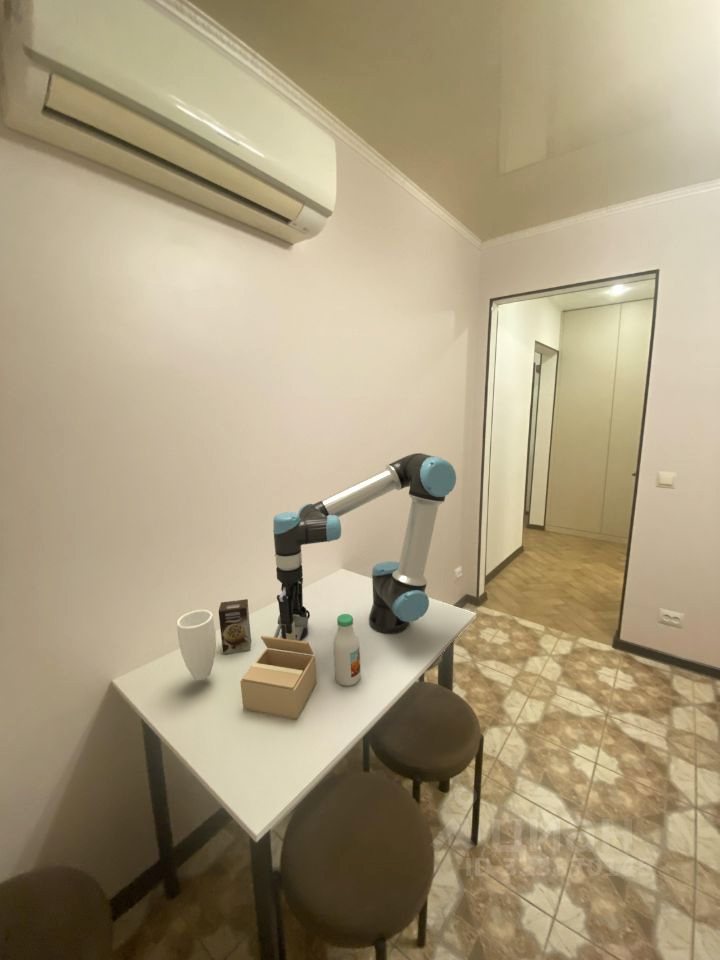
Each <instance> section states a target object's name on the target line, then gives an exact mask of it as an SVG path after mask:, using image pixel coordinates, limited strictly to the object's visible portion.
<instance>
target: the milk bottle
mask: <svg viewBox="0 0 720 960" xmlns="http://www.w3.org/2000/svg"><path fill="white" fill-rule="evenodd" d="M336 619H337V620H336V622H337V631H336V634H335V636H334V639H333V663H334V664H333V666H334V667H333V668H334V678H335V681H336V682H337V684H338V685H340V686H343V687H350V686H353V685H355V684H357V683H358V682H359V681H360V679H361V655H360V641H359V637H358V636H357V634H356V631H355V629H354V627H353V625H354V617H353V615H351V614H349V613H342V614H340V615H339V616H337V618H336Z"/></svg>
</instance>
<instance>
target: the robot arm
mask: <svg viewBox="0 0 720 960" xmlns="http://www.w3.org/2000/svg"><path fill="white" fill-rule="evenodd" d="M456 483H457V473H456V470H455V468H454V467H453V465H452V463H451V462H449V461H448V460H446V459H443V458H442V457H439V456H434V455H428V454H426V453H420V452H419V453H412V454H409V455H406V456H403V457H401V458H399V459H397V460H395V461H393V462H391V463H389V464H387V465H386V466H385V469H383V470H381V471H380V472H378V473H376V474H373V475H371V476H369V477H367V478H365V479H363V480H361V481H359V482H357V483H354V484H353V485H351V486H349V487H347V488H345V489H342V490H341V491H338V492H337V493H334V494H333V495H330V496H328V497H327V498H324V499H321V500H320V501H318V502H315V503H314V504H313V503H306V504H304V505H302V506H301V507H300V508H299V510H298V513H297V512H288V511H287V512H281V513H278V514H277V515H275V516H274V518H273V530H272V531H273V540H274V553H275V554H274V557H275V566H276V578H277V580H278V582H279V583H281V588H280V589H281V590H280V591H281V593H280V594H278V595H277V596H276V600H277V602H278V603H277V604H278V609H279V611H278V612H279V615H280V620H281V624H284V625H285V627H286V639H290V640H296V637H295V635H298V632H299V629H300V627H295V621H293V616H298V617H300V615H299V614H302V613H303V611H301V610H300V609H302V608H303V606H304V605H303V604H304V602H303V600H304V599H303V598H304V597H303V584H304V583H303V582H304V577H303V565H302V563H303V557H302V555H303V554H302V546H304V545H311V544H318V543H329V542H333V541H338V540H339V539H340V538H341V536H342V525H341V520H340V518H339V517H341V516H343V515H346V514H348V513H350V512H352V511H354V510H356V509H358V508H360V507H361V506H365V504H367V503H370V502H371V501H374V500H376V499H378V498H380V497H382V496H384V495H386V494H387V493H391V492H392V491H394V490H397V491H400V490H402V489H404V488H409V491H408V495H409V497H410V498H411V503H410V509H409V513H408V518H407V523H406V529H405V532H404V533H405V534H404V538H403V542H402V543H403V544H402V547H401V551H400V552H401V553H400V557H399V562H398V561H383V562H378V563H377V564H375V565H374V566H373V567H372V570H371V571H372V572H371V578H372V579H371V580H372V581H371V582H372V601H373V602H372V605H371V606H372V607H371V608H370V612H369V615H368V624H369V627H370V628H372V629H373V630H374V631H376V632H379V633H383V634H397V633H401V632H403V631H405V630H406V629H407V628H408V627H409V626H410V623H412V622H416V621H417V620H420V618H423V616H425V614H426V613H427V611H428V609H429V606H430V599H429V597H428V594H427V593H425V592H426V587H427V583H428V580H427V579H426V577H425V575H424V574H425V572H426V571H425V569H426V565H427V561H428V558H429V557H428V556H429V552H430V547H431V542H432V538H433V533H434V528H435V524H436V518H437V514H438V509H439V507H440V505H441V504H443V503H444V502H445V500H446V496H448V495H449V494H450V493H451V492H452V491H453V489H454V488H455V486H456Z"/></svg>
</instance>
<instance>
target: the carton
mask: <svg viewBox="0 0 720 960" xmlns="http://www.w3.org/2000/svg"><path fill="white" fill-rule="evenodd" d="M317 680H318V679H317V667H316V656H315V655H311V654H304V653H297V652H290V651H284V650H277V649H270V648H265V649H264V650H263V651H262V653H261V654H260V655H259V657H257V659H256V660H255V661H254V662H253V664H251V666H250V668H249V669H248V670H247V671H246V672H245V674H244V675H243V676H242V678H241V679H240V681H239V682H240V691H241V699H242V702H241V703H242V709H243V710H244V711H250V712H255V713H259V714H260V713H261V714H265V715H269V716H274V717H275V716H276V717H278V718H279V717H280V718H285V719H290V720H295V721H298V719H299V717H300V716H301V714H302V712H303V709H304V708H305V706H306V704H307V702H308V700H309V699H310V697H311V694H312V693H313V691H314V689H315V687H316V685H317Z"/></svg>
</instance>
